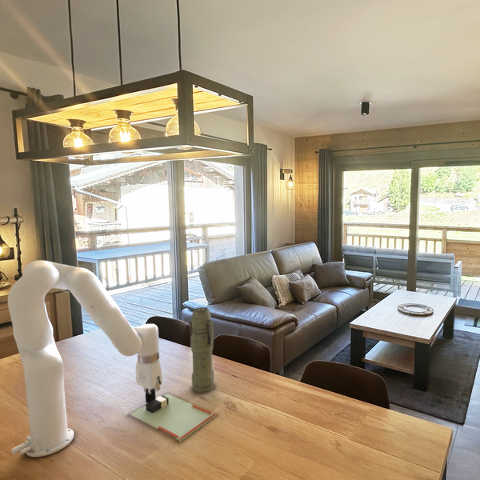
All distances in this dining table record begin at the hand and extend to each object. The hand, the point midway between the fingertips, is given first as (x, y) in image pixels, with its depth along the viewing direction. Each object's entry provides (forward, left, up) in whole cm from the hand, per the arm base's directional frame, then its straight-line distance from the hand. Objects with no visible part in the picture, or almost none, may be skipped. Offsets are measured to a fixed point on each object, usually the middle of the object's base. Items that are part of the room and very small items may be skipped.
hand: (150, 401), depth 135 cm
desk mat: (0, -13, -2) cm, 13 cm away
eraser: (0, -4, -1) cm, 4 cm away
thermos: (+19, -8, -2) cm, 21 cm away
